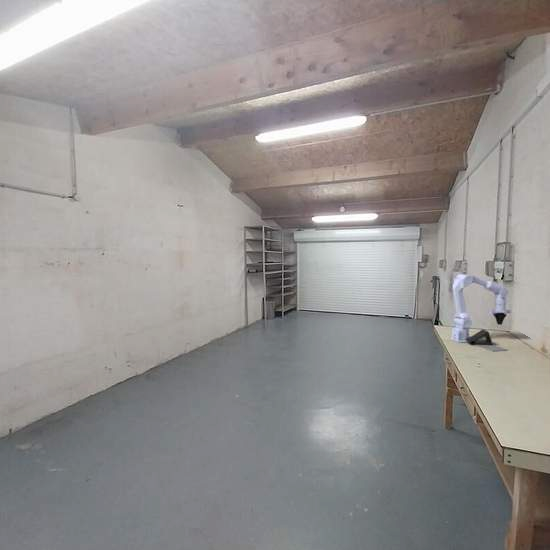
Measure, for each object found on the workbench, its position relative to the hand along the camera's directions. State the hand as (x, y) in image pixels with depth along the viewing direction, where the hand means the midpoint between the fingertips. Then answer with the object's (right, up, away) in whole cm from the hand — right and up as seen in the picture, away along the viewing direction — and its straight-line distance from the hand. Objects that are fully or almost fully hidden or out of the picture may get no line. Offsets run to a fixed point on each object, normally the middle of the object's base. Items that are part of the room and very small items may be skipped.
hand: (499, 324), depth 191 cm
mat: (-17, -12, -14) cm, 25 cm away
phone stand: (-14, -6, -9) cm, 18 cm away
